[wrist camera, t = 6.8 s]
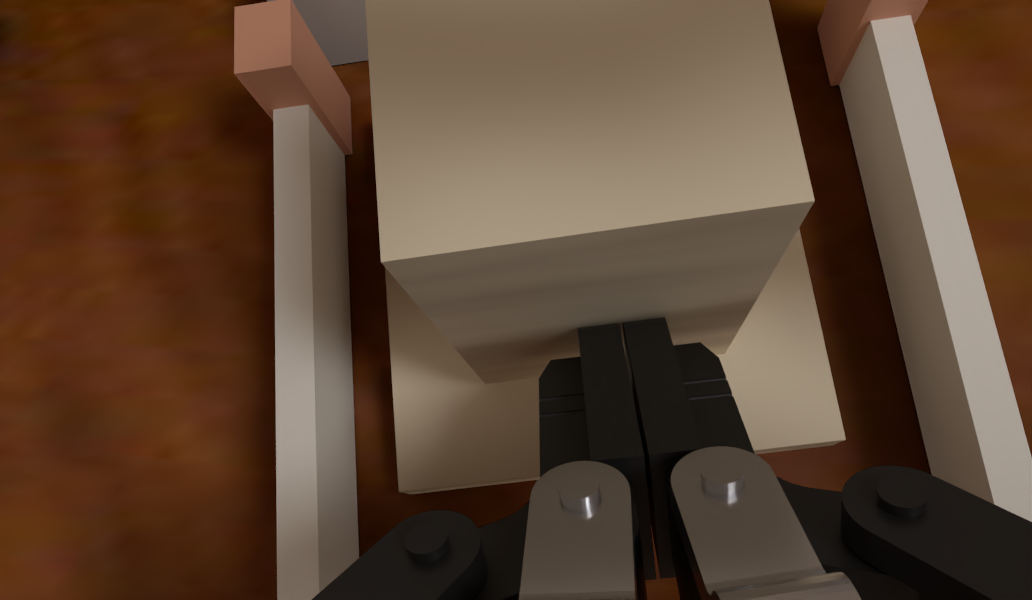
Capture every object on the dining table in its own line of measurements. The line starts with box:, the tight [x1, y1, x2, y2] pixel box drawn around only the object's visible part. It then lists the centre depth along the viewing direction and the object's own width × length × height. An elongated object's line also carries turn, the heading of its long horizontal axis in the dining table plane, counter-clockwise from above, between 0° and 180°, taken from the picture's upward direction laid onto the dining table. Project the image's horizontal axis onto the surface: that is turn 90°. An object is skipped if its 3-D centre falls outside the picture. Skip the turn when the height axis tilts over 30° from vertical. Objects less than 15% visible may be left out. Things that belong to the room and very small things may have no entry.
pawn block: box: [365, 0, 846, 494], centre depth 14 cm, size 9×9×9 cm
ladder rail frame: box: [234, 0, 1032, 600], centre depth 16 cm, size 16×14×4 cm
